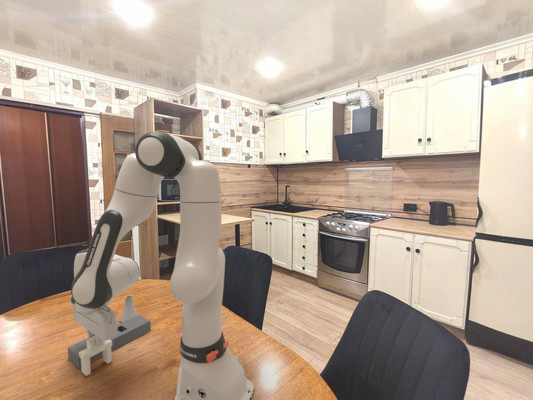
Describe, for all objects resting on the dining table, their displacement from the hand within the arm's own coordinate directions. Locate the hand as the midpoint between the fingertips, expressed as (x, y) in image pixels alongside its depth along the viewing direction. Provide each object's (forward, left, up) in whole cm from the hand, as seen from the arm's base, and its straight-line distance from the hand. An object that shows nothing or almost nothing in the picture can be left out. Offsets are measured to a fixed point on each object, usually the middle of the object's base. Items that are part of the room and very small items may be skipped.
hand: (95, 343), depth 78 cm
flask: (+19, -21, -8) cm, 30 cm away
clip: (0, 0, -8) cm, 8 cm away
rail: (+8, -9, -8) cm, 15 cm away
